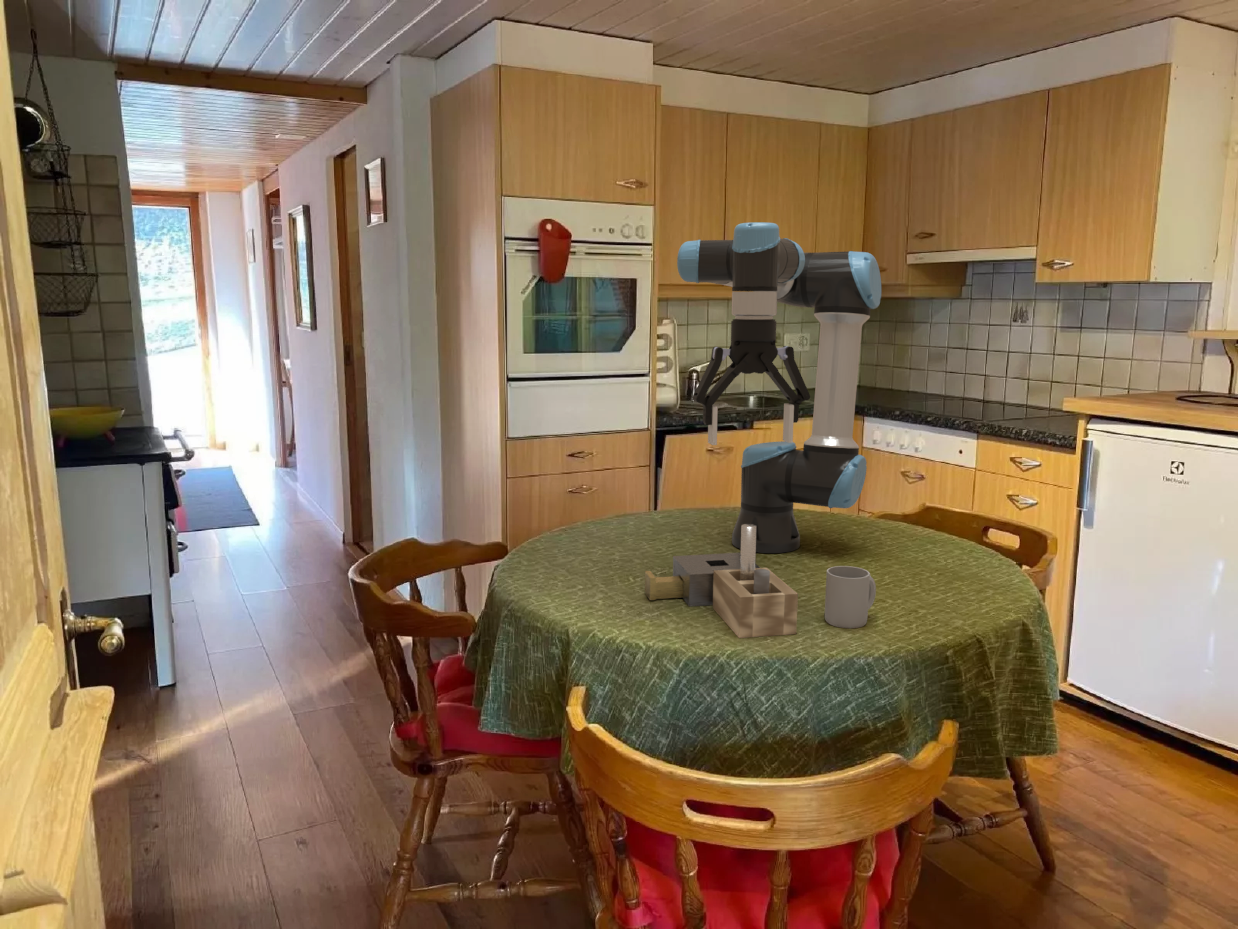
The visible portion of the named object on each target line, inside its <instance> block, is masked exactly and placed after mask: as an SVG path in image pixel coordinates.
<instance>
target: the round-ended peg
mask: <svg viewBox="0 0 1238 929" xmlns="http://www.w3.org/2000/svg"><path fill="white" fill-rule="evenodd" d="M740 553H741V557H740V581H743V580H754V570H755V563H756V553H757V552H756V525H753V524H743V525H741V549H740Z"/></svg>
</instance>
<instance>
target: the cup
mask: <svg viewBox="0 0 1238 929" xmlns="http://www.w3.org/2000/svg"><path fill="white" fill-rule="evenodd" d="M825 574H826V576H825V577H826V579H825V580H826V581H825V599H824V620H825V621H826V623H827V624H829V625H831V626H833V627H836V628H837V627H838V628H841V629H859V628H862V627H864V626H865V625H866V624H867V622H868V616H869V615H868V614H869V613H868V612H869V610H870V609H871V607H872V606H873V604H874V602H875V598H876V594H877V586H876V582H875V579H874V578H873V577H872V576H871V573H870V571H868V570H867V569H864V568H861V567H858V566H850V565H836V566H832V567H829V568H827V569H826V573H825Z"/></svg>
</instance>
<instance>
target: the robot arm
mask: <svg viewBox="0 0 1238 929" xmlns="http://www.w3.org/2000/svg"><path fill="white" fill-rule="evenodd" d="M676 258H677V261H676V262H677V264H676V266H677V272H678V275H679V276H680V278H681V279H682V281H684V282H687V283H696V284H699V283H709V284H710V283H711V284H715V285H722V286H727V287H731V315H732V316H734V318H733V319H732V320H731V321H730V322H731V323H730V326H731V327H730V345H729V348H722V347H721V346H714V347H712V350H711V357H710V361H709V363H708V365H707V366H706V368H705V371H704V373H703V374H702V377H701V379H700V381H699V383H698V385H697V386H696V389H695V391H694V393H693V395H692V397H691V398H692V400H693V401H694V402H696V403H698V404H701V405H702V422H703V424H704V425H705V426H707V443H708V444H709V445H712V446H718V411H719V410H718V409H719V408H718V406H716V405H714V404H715V403H716V402H717V401H718V399H719V398H720V397H721V395H723V393H724V392H725V391H726V390H727V388H728V387H729V386H730V385H731V383H732V382H733V381H734V380H735V378H736V377H738V376H740V374H746V375H747V374H749V375H750V374H753V373H755V374H758V375H759V374H764V373H766V375H767V376H769V378H770V379H771V381H772V382H774V384H775V386H776V387H777V388H778V390H779V391H780V392H781V393H782V394H783V395H784V398H786V400H787V402H785V403H783V425H782V441H767V442H761V443H756V444H751V445H749V446H747V447H745V449H744V450H743V451H742V452H743V453H742V458H741V459H742V461H741V465H740V467H741V474H740V475H741V476H740V478H741V480H740V481H741V483H740V484H741V485H740V486H741V487H740V511H739V514H738V517H737V519H736V523H735V525H734V528H733V530H732V534H731V536H732V537H731V543H732V545H733V547H735V548H737V549H740V550H741V525H743V524H753V525H756V553H761V554H784V553H788V552H790V553H791V552H793V551H796V550H797V549H799V548H800V547H801V546H800V543H801V535H800V532H799V529H798V525H797V521H796V518H795V515H794V504H800V505H808V506H809V505H811V506H818V507H826V508H829V509H834V508H836V509H850V508H851V507H853V506H854V505H855V504H856V502H857V501H858V500H859V498H860V496H861V493H862V490H863V487H864V484H865V481H866V476H867V459H866V457H865V456H863V455H862V454H859V451H860V446H859V445H858V443H857V442H856V441H855V440H854V438H853V434H854V424H855V422H854V421H855V410H856V400H857V387H858V377H859V376H858V374H859V365H860V364H859V363H860V351H861V350H860V349H861V340H862V329H863V328H862V327H863V325H864V324H865V323H866V322H867V321H868V320H869V319H870V318H871V310H875V309H877V308H878V307H879V306H880V303H881V299H882V277H881V272H880V268H879V264H878V261H877V260H876V258H875V256H874V255H873V254H871V253H869V252H868V251H867V252H865V251H853V250H849V251H848V250H847V251H827V252H825V251H824V252H823V251H820V252H804V250H803V248H802V246H800V244H799V243H797V242H796V241H793V240H792V239H789V238H787V237H786V238H781V237H780V227H779V225H778V224H777V223H776V222H775V223H774V222H743V223H739V224H737V225H736V226H735V227H734V230H733V239H711V240H710V239H708V240H707V239H705V240H704V239H703V240H701V239H697V240H688V241H685V242H683V243H682V244H681V246H680V247H679V249H678V253H677V257H676ZM778 303H780V304H784V305H788V306H792V307H793V306H794V307H799V308H812V309H813V308H814V310H813V312H814V313H813V316H814V317H815V318H816V320H817V321H818V322H819V324H820V327H819V328H820V329H819V338H818V340H819V341H818V353H817V365H816V377H815V391H814V402H813V417H812V428H811V435H810V437H809V438H808V439H806V440H805V441H804V442H803V450H801V449H800V450H799V449H797V445H796V443H795V442H794V441H793V440H794V423H798V422H799V413H800V412H799V411H800V410H799V409H800V405H801V404H802V402H805V401H809V400H810V399H811V395H810V393H809V391H808V388H807V385H806V384H805V381H804V379H803V375H802V373H801V372H800V370H799V367H798V365H797V362H796V360H795V349H794V347H792V346H790V345H783V346H782V347H777V345H776V342H777V341H776V340H777V321H776V319H774V316H777V314H778ZM727 356H728V357H729V359H730V360H731V364H729V365H728V367H727V368H726V371H725V372H724V373H723V375H722V376H721V377H720V378H719V379H718V381H717V382H716V383H715V384H714V386H712V388H711V389H710V387H711V385H712V383H713V381H714V379H715V377H716V375H717V373H718V371H719V369H720V367H721V365H722V362H723V361H725V360H726V358H727ZM778 356H779V359H780V360H782V362H783V364H784V368H785V369H786V372H787V374H788V377H789V378H790V381H791V383H792V385H793V388H794V390H795V391H794V390H793V389H792V387H791V385H790V384H789V383H788V382H787V380H785V378H784V376H783V375H782V374H781V373H780V371H779V369H778V368H777V367H776V365H775V363H774V361H775V359H777V357H778ZM709 389H710V391H709ZM708 391H709V392H708Z"/></svg>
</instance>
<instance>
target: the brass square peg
mask: <svg viewBox="0 0 1238 929" xmlns="http://www.w3.org/2000/svg"><path fill="white" fill-rule="evenodd" d="M644 594H645V595H646V597H647V598H648V599H649V601H655V600H662V599H663V600H664V599H678V598H683V579H682V578H681V576H673V575H671V576H655V575H654V573H653V572H652V571H651V570H645V571H644Z"/></svg>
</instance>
